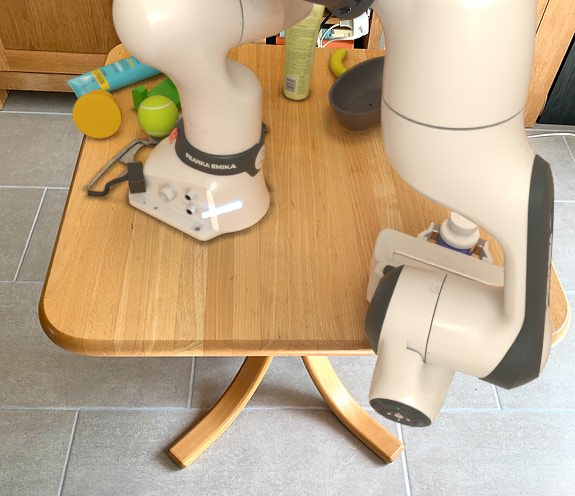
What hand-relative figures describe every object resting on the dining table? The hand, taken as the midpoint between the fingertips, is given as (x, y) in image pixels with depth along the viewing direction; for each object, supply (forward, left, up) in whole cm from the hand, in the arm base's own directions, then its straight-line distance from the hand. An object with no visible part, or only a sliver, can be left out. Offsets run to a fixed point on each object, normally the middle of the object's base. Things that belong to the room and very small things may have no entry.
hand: (458, 234), depth 85 cm
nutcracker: (-57, +2, -8) cm, 58 cm away
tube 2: (-35, +33, -8) cm, 49 cm away
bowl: (-20, +33, -8) cm, 40 cm away
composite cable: (-38, +16, -8) cm, 42 cm away
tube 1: (-61, +30, -5) cm, 68 cm away
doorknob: (-60, +12, -6) cm, 61 cm away
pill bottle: (0, -1, -6) cm, 6 cm away
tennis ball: (-53, +8, -3) cm, 53 cm away
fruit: (-32, +44, -7) cm, 55 cm away
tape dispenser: (-56, +23, -8) cm, 61 cm away
